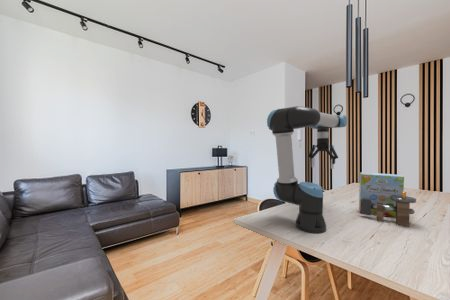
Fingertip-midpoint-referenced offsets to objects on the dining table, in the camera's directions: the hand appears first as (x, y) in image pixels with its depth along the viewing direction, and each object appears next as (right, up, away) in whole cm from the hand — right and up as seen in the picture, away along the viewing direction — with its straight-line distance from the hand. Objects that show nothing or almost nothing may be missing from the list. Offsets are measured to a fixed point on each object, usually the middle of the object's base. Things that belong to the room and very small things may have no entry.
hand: (322, 167), depth 146 cm
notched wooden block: (+26, -28, -29) cm, 48 cm away
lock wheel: (+30, -15, -32) cm, 46 cm away
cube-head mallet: (+24, -26, -27) cm, 45 cm away
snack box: (+29, -28, -16) cm, 43 cm away
